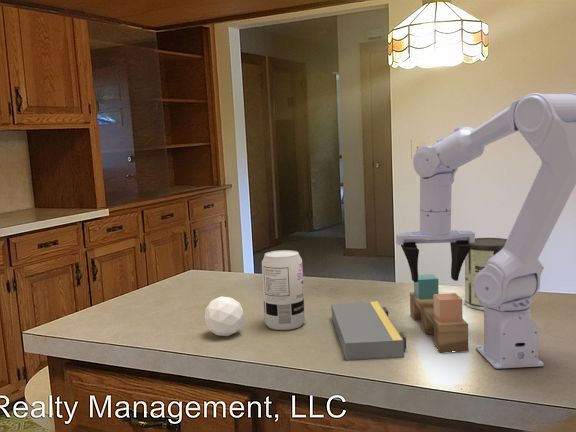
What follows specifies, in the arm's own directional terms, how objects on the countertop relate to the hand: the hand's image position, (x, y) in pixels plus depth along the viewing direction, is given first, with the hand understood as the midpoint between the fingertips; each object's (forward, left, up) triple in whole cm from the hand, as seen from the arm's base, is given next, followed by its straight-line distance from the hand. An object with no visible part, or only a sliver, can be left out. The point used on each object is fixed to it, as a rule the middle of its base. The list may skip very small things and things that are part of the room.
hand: (434, 280), depth 113 cm
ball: (+4, +41, -10) cm, 42 cm away
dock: (-1, +14, -10) cm, 17 cm away
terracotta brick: (-8, 0, -5) cm, 10 cm away
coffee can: (+15, -16, -10) cm, 24 cm away
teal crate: (+7, 0, -5) cm, 8 cm away
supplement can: (+8, +29, -10) cm, 32 cm away
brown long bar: (-1, 0, -10) cm, 10 cm away
